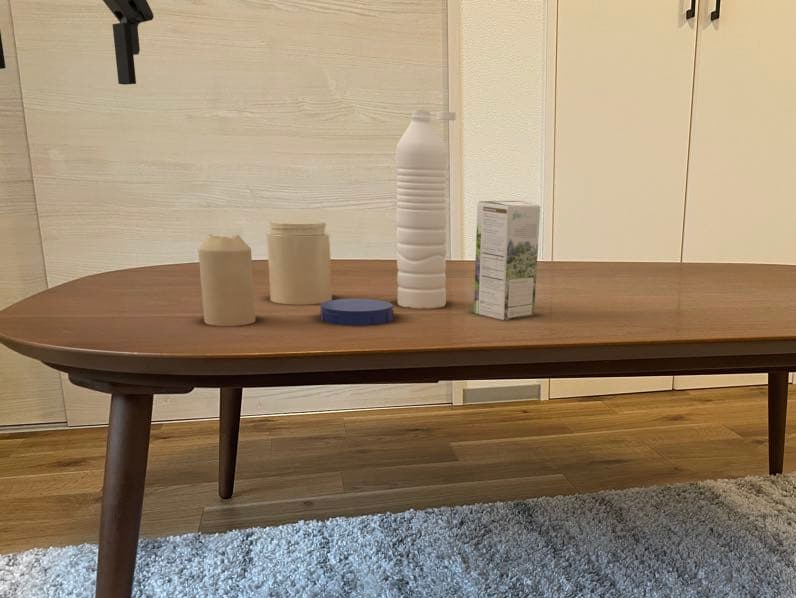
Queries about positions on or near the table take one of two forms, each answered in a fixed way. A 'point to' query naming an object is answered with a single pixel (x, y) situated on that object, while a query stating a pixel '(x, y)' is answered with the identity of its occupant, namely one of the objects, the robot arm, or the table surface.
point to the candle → (226, 281)
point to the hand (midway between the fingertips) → (65, 77)
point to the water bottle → (421, 213)
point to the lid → (356, 312)
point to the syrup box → (506, 259)
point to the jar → (299, 262)
